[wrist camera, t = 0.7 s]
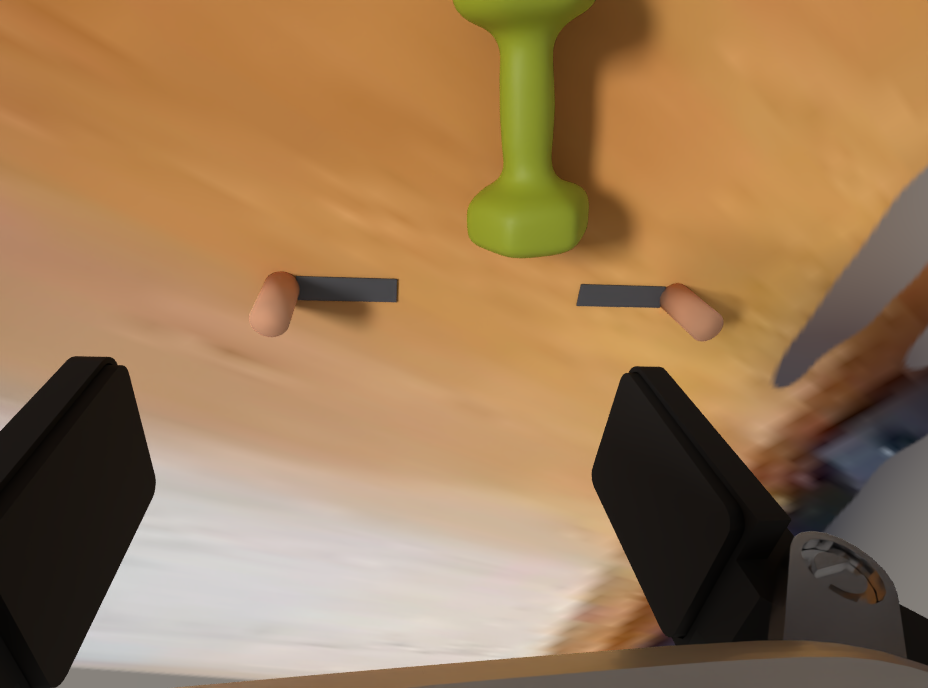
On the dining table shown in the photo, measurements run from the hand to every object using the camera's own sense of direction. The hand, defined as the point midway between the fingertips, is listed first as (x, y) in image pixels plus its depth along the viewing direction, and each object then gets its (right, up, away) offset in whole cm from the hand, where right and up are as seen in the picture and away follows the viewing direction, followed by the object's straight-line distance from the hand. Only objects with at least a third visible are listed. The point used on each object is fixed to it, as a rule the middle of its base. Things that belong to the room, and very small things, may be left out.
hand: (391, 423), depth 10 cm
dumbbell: (+5, +17, +23) cm, 29 cm away
